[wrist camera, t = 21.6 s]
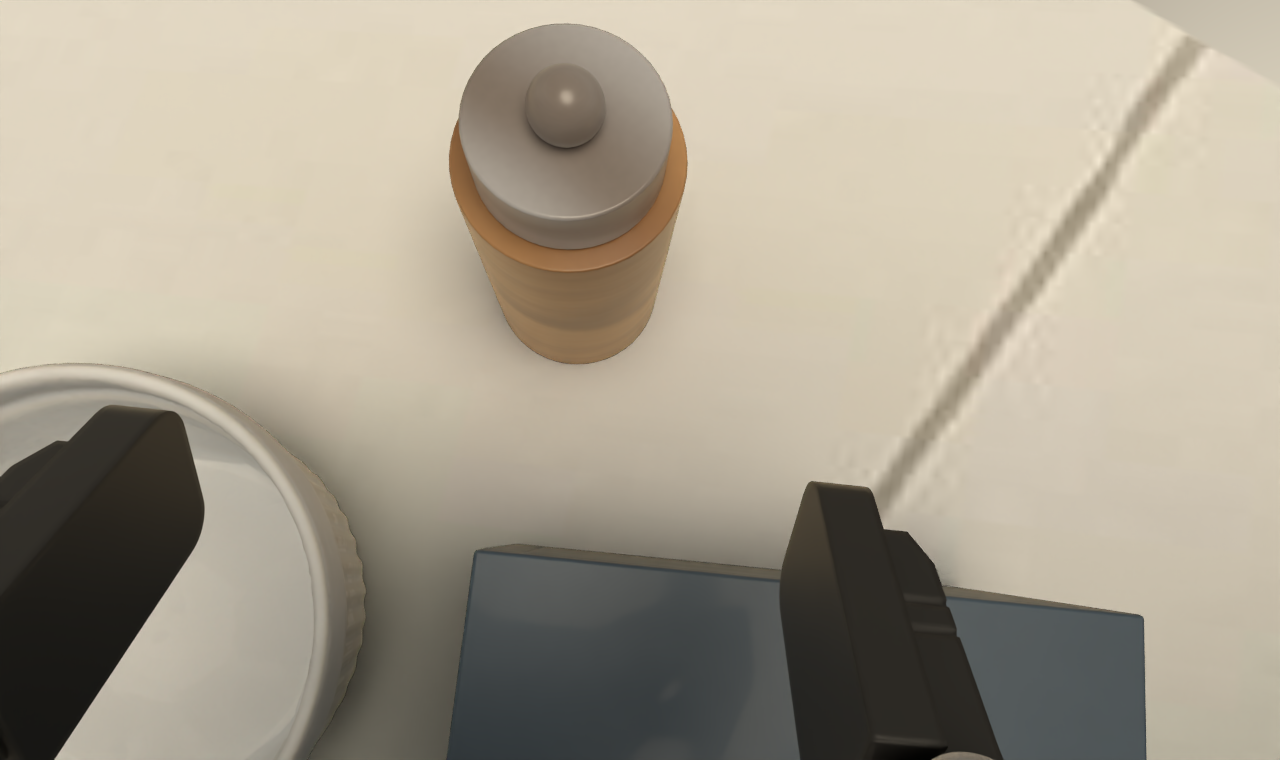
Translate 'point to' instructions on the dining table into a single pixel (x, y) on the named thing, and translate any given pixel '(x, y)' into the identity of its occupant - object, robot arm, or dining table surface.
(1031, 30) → the dining table surface
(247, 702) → the ramekin
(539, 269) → the pepper mill
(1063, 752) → the cabinet
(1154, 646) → the dining table surface
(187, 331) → the dining table surface
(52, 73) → the dining table surface
